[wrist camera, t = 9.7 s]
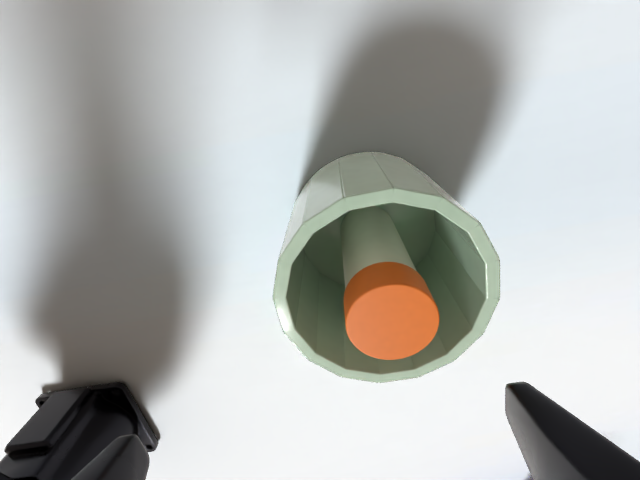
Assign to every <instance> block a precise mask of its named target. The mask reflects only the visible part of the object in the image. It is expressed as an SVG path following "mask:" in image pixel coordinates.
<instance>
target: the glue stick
mask: <svg viewBox="0 0 640 480" xmlns="http://www.w3.org/2000/svg"><path fill="white" fill-rule="evenodd" d="M340 233H341V245H342V256H343V268H344V280H345V292H344V315H345V327H346V332H347V335H348V337H349V339H350V341H351V342H352V344H353V345H354V346H355V347H356V348H357V349H358V350H360V351H361V352H363V353H364V354H366V355H368V356H371V357H374V358H377V359H383V360H396V359H402V358H406V357H409V356H411V355H414V354H416V353H418V352H419V351H421V350H422V349H424V348H425V347H426V346H427V345H428V344H429V343H430V342H431V341H432V339H433V338H434V336H435V335H436V332H437V330H438V327H439V321H440V320H439V310H438V307H437V305H436V303H435V301H434V299H433V297H432V295H431V293H430V291H429V289H428V287H427V285H426V283H425V281H424V279H423V278H422V276H421V275H420V274H419V273H418V272H417V271H416V269H415V267H414V265H413V262H412V260H411V258H410V256H409V254H408V252H407V250H406V248H405V246H404V244H403V242H402V240H401V237H400V235H399V233H398V231H397V229H396V227H395V225H394V223H393V221H392V219H391V217H390V216H389V214H388V213H387V212H386V211H385V210H383V209H381V208H379V207H377V206H371V207H365V208H360V209H355V210H352V211H350V212H349V213H348V214H347V215H346V216H345V218H344V219H343V221H342V224H341V229H340Z"/></svg>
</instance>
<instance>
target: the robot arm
mask: <svg viewBox="0 0 640 480" xmlns="http://www.w3.org/2000/svg"><path fill="white" fill-rule="evenodd" d="M36 404H37V406H38V407H39V408H40V409H39V410H38V411H37V412H36V413H35V414H34V415H33V416H32V417H31V419H30V420H29V421H28V422H27V423H26V424H25V425H24V426H23V427H22V429H21V430H20V431H19V432H18V433H17V434H16V435H15V436H14V438H13V439H12V440H11V441H10V442H9V443H8V444H7V446H6V448H5V452H6V456H5V457H4V458H3V459H2V460H1V461H0V480H145V479H146V475H147V471H148V468H149V455H148V453H147V452H152V451H154V450H155V449H156V447H157V445H158V441H157V439H156V437H155V435H154V434H153V432H152V430H151V428H150V427H149V425H148V423H147V421H146V420H145V418H144V416H143V414H142V413H141V411H140V409H139V408H138V406H137V404H136V402H135V401H134V399H133V397H132V395H131V394H130V392H129V390H128V388H127V387H126V386H125V385H124V384H123V383H120V382H115V383H108V384H102V385H95V386H89V387H82V388H75V389H69V390H62V391H56V392H49V393H43V394H41V395H40V396H39V397H38V398H37V399H36ZM505 411H506V416H507V419H508V422H509V424H510V426H511V429H512V431H513V433H514V436H515V438H516V440H517V443H518V445H519V447H520V450H521V452H522V454H523V457H524V459H525V462H526V464H527V466H528V469H529V471H530V473H531V476H532V478H533V480H640V462H639V461H638V460H636V459H635V458H633V457H632V456H631V455H629V454H628V453H626V452H625V451H624V450H622V449H621V448H619V447H618V446H616V445H615V444H614V443H612V442H611V441H609V440H608V439H606V438H605V437H604V436H602V435H601V434H599V433H598V432H597V431H595V430H594V429H592V428H591V427H589V426H588V425H587V424H585V423H584V422H582V421H581V420H579V419H578V418H577V417H575V416H574V415H572V414H571V413H570V412H568V411H567V410H565V409H564V408H562V407H561V406H560V405H558V404H557V403H555V402H554V401H552V400H551V399H550V398H548V397H547V396H545V395H544V394H543V393H541V392H540V391H538V390H537V389H535V388H534V387H533V386H531V385H530V384H528V383H526V382H516V383H509V384H507V385H506V388H505Z"/></svg>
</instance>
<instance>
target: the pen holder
mask: <svg viewBox="0 0 640 480" xmlns="http://www.w3.org/2000/svg"><path fill="white" fill-rule="evenodd" d="M371 206H377V207H379V208H381V209H383V210H385V211H386V212H387V213H388V214H389V216H390V217H391V219H392V221H393V223H394V225H395V227H396V229H397V231H398V233H399V235H400V237H401V240H402V242H403V244H404V246H405V248H406V250H407V252H408V254H409V256H410V258H411V260H412V262H413V265H414V267H415V269H416V271H417V272H418V273H419V274H420V275H421V276H422V278H423V279H424V281H425V283H426V285H427V287H428V289H429V291H430V293H431V295H432V297H433V299H434V301H435V303H436V305H437V307H438V310H439V320H440V321H439V327H438V330H437V332H436V335H435V336H434V338H433V339H432V341H431V342H430V343H429V344H428V345H427V346H426V347H425V348H424V349H422V350H421V351H419V352H418V353H416V354H414V355H411V356H409V357H406V358H402V359H396V360H383V359H377V358H374V357H371V356H368V355H366V354H364V353H363V352H361V351H360V350H358V349H357V348H356V347H355V346H354V345H353V344H352V342H351V341H350V339H349V337H348V335H347V332H346V327H345V315H344V292H345V280H344V268H343V256H342V245H341V233H340V229H341V224H342V221H343V219H344V218H345V216H346V215H347V214H348V213H349V212H350V211H352V210H355V209H360V208H365V207H371ZM499 298H500V260H499V256H498V254H497V252H496V251H495V249H494V247H493V245H492V243H491V241H490V239H489V238H488V236H487V234H486V232H485V230H484V228H483V226H482V225H481V223H480V222H479V221H478V220H477V219H476V218H475V217H474V216H472V215H471V214H470V213H469V212H468V211H467V210H466V209H465V208H464V207H462V206H461V205H460V204H459V203H458V202H457V201H456V200H455V199H453V198H452V197H451V196H450V195H449V194H448V193H447V192H446V191H444V190H443V189H442V188H441V187H440V186H439V185H438V184H437V183H436V182H434V181H433V180H432V179H431V178H430V177H429V176H428V175H426V174H425V173H423V172H422V171H421V170H419V169H418V168H417V167H415V166H414V165H413V164H411V163H409V162H408V161H406V160H405V159H403V158H400V157H397V156H394V155H390V154H387V153H380V152H360V153H353V154H350V155H346V156H343V157H340V158H338V159H336V160H333V161H332V162H330V163H328V164H327V165H325V166H324V167H322V168H321V169H320V170H318V171H317V172H316V173H315V174H314V175H313V176H312V177H311V178H310V179H309V180H308V182H307V183H306V184H305V186H304V187H303V189H302V191H301V192H300V194H299V196H298V198H297V200H296V201H295V203H294V207H293V210H292V214H291V217H290V221H289V224H288V228H287V231H286V235H285V238H284V241H283V245H282V248H281V252H280V255H279V259H278V264H277V271H276V277H275V284H274V290H273V301H274V304H275V307H276V310H277V314H278V317H279V320H280V323H281V326H282V330H283V332H284V334H285V335H286V336H287V337H288V338H289V339H290V341H291V342H292V343H293V344H294V345H295V346H296V347H297V348H298V350H299V351H300V352H301V353H302V354H303V355H304V356H305V357H306V359H308V360H309V361H311V362H313V363H315V364H317V365H319V366H320V367H322V368H324V369H326V370H328V371H330V372H332V373H334V374H336V375H338V376H340V377H344V378H350V379H356V380H363V381H369V382H375V383H379V382H380V383H383V382H390V381H398V380H405V379H412V378H418V377H421V376H423V375H425V374H427V373H429V372H432V371H434V370H436V369H438V368H440V367H442V366H444V365H447V364H449V363H451V362H453V361H454V360H456V359H457V358H458V357H459V356H460V355H461V354H462V353H463V352H465V351H466V350H467V349H468V348H469V347H470V346H471V345H472V344H473V343H474V342H475V341H476V340H477V339H478V338H479V337H480V336H481V335H483V333H484V332H485V329H486V327H487V325H488V323H489V321H490V319H491V317H492V314H493V312H494V310H495V308H496V306H497V304H498V302H499Z"/></svg>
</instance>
